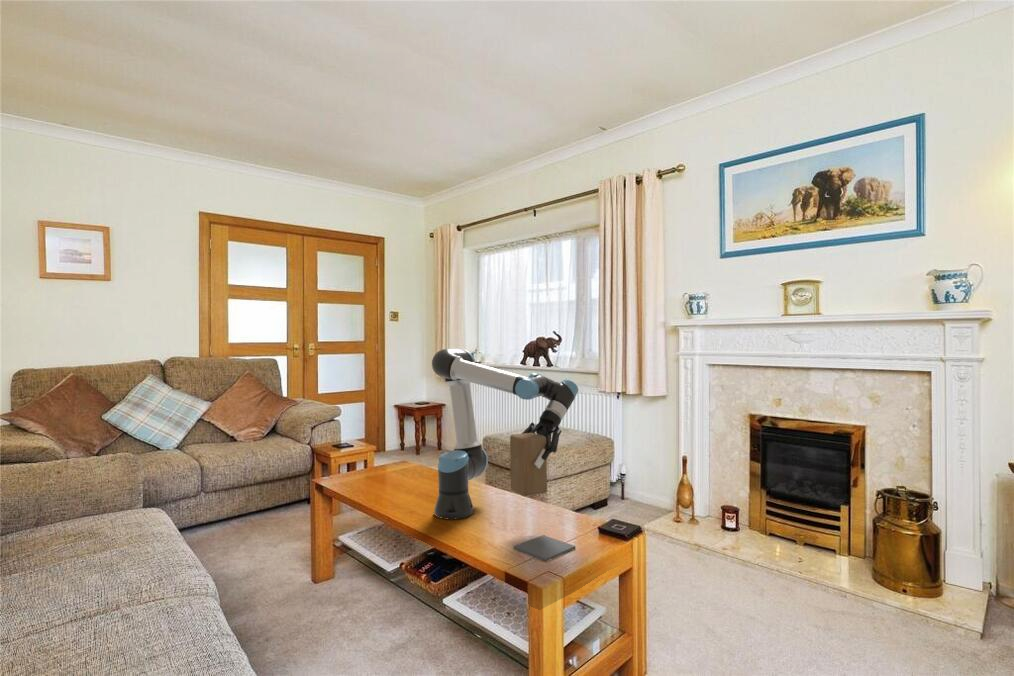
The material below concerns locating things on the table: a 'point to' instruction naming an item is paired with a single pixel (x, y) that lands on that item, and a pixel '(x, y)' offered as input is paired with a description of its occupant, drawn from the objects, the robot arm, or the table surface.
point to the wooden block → (527, 464)
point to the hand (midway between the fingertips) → (524, 463)
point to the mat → (544, 547)
